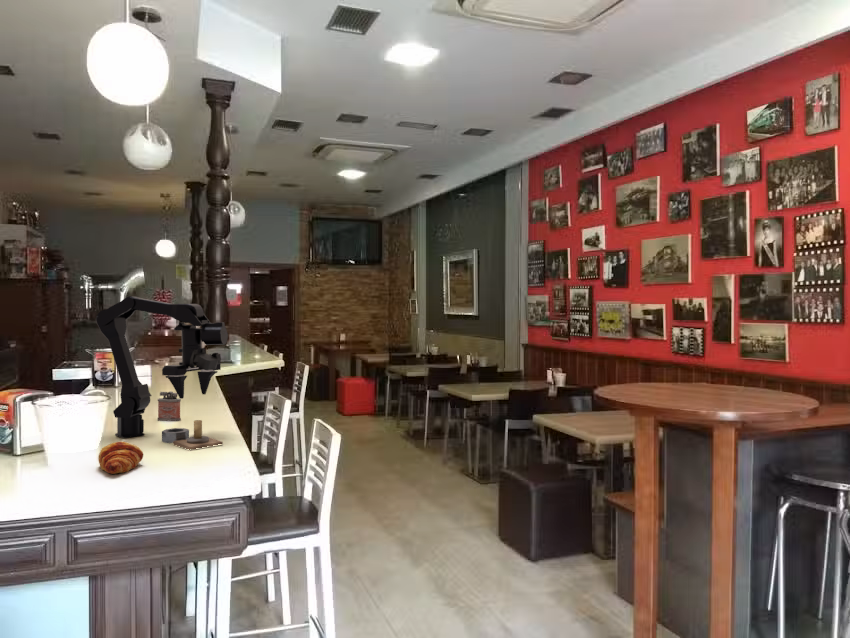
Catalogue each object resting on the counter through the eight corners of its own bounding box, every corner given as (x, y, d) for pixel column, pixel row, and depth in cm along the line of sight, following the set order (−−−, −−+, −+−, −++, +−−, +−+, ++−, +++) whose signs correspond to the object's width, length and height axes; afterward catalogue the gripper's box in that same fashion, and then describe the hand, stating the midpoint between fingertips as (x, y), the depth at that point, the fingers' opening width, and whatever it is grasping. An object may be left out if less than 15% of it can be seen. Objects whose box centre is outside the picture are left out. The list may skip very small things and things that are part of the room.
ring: (169, 444, 186) (169, 433, 185) (158, 440, 190) (158, 430, 190) (192, 440, 191) (192, 430, 190) (181, 437, 195) (181, 427, 195)
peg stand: (189, 450, 178) (189, 425, 178) (173, 444, 185) (173, 420, 185) (222, 445, 185) (222, 420, 185) (205, 439, 192) (205, 416, 192)
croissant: (113, 471, 169) (97, 445, 168) (149, 450, 172) (134, 425, 171) (102, 491, 149) (84, 462, 148) (144, 468, 152) (126, 439, 151)
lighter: (182, 419, 224) (182, 391, 224) (177, 421, 221) (178, 392, 220) (160, 419, 225) (160, 390, 225) (155, 420, 221) (155, 392, 221)
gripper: (189, 347, 183) (190, 402, 183) (233, 343, 200) (234, 393, 200) (160, 347, 187) (161, 400, 188) (206, 343, 204) (207, 392, 205)
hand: (193, 396), depth 195 cm, fingers open, 9 cm apart
